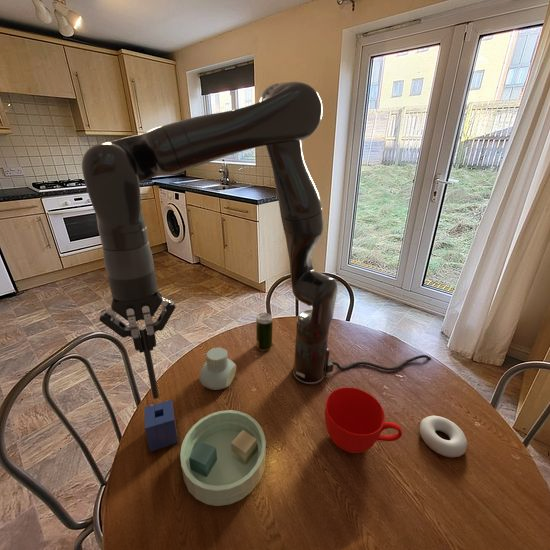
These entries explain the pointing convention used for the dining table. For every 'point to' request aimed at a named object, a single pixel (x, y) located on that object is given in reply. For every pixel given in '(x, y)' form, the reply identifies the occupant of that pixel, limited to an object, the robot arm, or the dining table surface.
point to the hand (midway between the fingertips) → (146, 348)
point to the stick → (149, 362)
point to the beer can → (264, 331)
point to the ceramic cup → (356, 420)
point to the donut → (439, 445)
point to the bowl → (223, 458)
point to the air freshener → (217, 370)
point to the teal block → (203, 458)
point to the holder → (160, 425)
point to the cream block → (244, 447)
